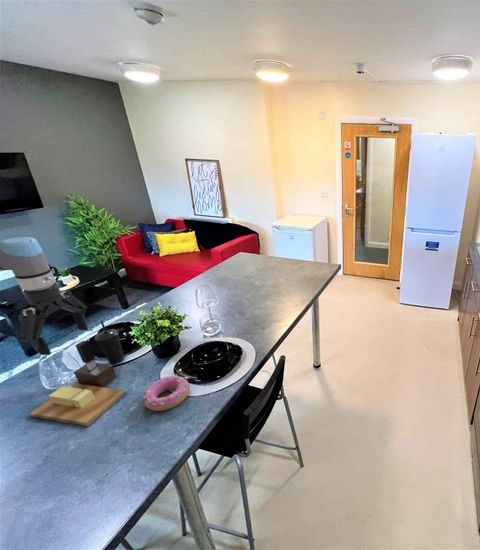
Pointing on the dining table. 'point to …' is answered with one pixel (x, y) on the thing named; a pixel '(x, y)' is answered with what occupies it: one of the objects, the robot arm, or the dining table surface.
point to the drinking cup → (110, 345)
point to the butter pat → (83, 398)
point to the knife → (86, 355)
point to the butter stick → (64, 395)
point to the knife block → (95, 375)
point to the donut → (168, 401)
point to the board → (80, 415)
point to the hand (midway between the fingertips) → (66, 341)
